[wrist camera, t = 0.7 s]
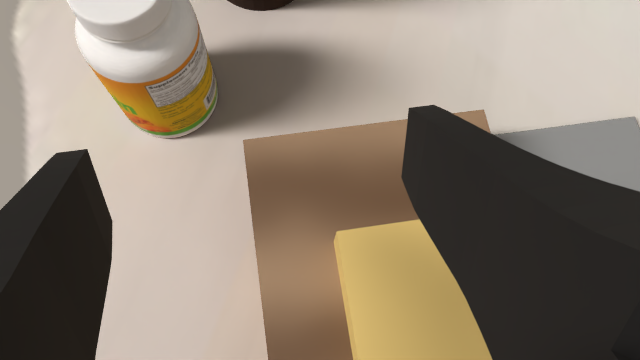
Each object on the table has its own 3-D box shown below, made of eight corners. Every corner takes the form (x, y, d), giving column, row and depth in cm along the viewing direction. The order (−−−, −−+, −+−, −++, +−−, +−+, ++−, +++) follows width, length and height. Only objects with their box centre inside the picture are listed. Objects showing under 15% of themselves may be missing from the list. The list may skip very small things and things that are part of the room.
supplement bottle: (107, 88, 29) (19, -34, 20) (187, 42, 31) (139, -92, 21) (155, 158, 28) (84, 63, 19) (237, 107, 29) (207, -5, 20)
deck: (567, 548, 23) (620, 587, 19) (302, 602, 22) (302, 655, 18) (459, 141, 29) (483, 109, 25) (250, 169, 28) (242, 140, 24)
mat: (781, 504, 24) (786, 506, 23) (577, 546, 23) (581, 548, 22) (631, 118, 30) (634, 116, 30) (468, 140, 29) (470, 138, 29)
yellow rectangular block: (516, 437, 20) (537, 445, 19) (370, 464, 20) (378, 475, 18) (462, 222, 23) (476, 210, 21) (333, 241, 23) (336, 231, 21)
